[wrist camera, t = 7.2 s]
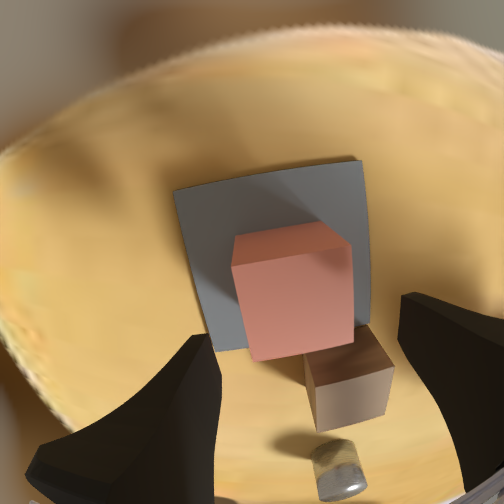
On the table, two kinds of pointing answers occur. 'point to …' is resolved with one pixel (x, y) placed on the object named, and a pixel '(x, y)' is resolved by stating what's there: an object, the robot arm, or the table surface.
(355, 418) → the walnut block
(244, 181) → the slate mat
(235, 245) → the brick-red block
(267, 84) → the table surface
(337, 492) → the grey metal cylinder
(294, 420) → the table surface
